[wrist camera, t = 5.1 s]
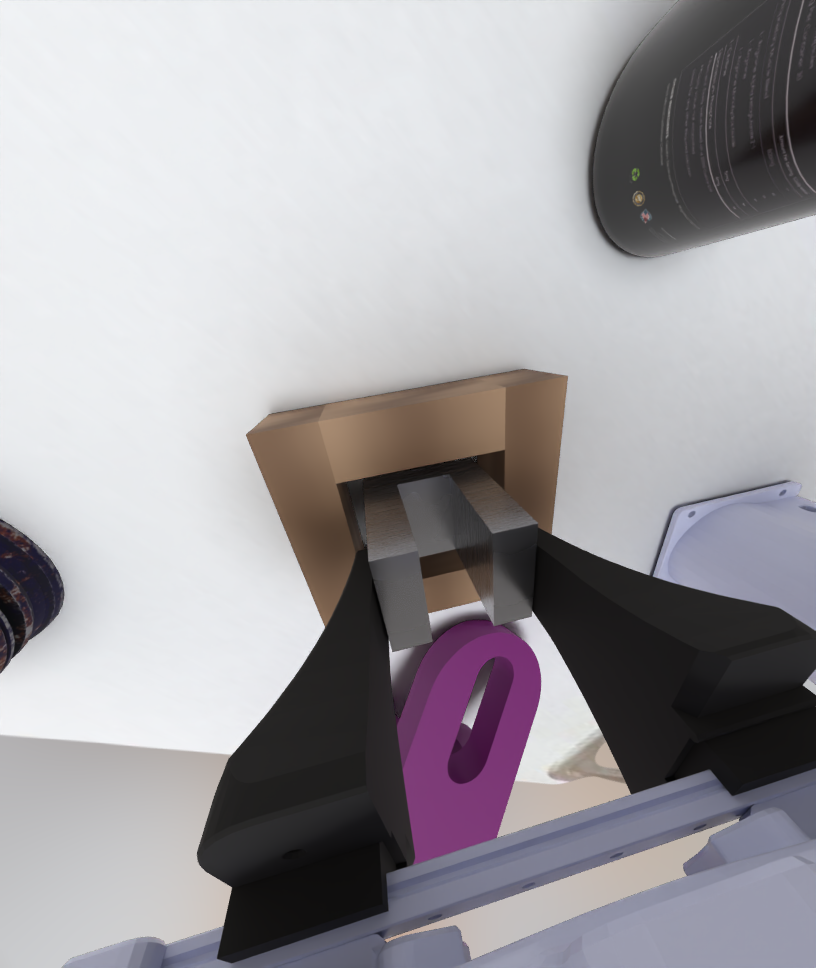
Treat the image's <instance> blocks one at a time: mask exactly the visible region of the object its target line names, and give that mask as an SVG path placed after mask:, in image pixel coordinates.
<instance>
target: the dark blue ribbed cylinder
mask: <svg viewBox="0 0 816 968" xmlns="http://www.w3.org/2000/svg"><path fill="white" fill-rule="evenodd" d="M63 599H64V590H63V583H62V580H61V578H60V575H59V572H58V571H57V569H56V568H55V566H54V564H53V563H52V561H51V560H50V559H49V558H48V557H47V555H46V554H45V553H44V552H43V551H42V550H41V549H40V548H39V547H38V546H37V545H36V544H35V543H34V542H32V541H31V540H30V539H29V538H28V537H27V536H25V535H24V534H22V533H21V532H19V531H18V530H17V529H15V528H14V527H12V526H11V525H9V524H7V523H6V522H4V521H2V520H0V673H1V672H2V671H3V670H4V669H5V668H6V666H7V665H8V664H9V663H10V660H11V659H12V658H13V657H14V656H15V655H16V654H18V653H19V652H20V651H21V649H22V648H23V647H24V646H25V645H26V644H27V642H28V640H30V639H32V638H33V637H34V636H36V635H37V634H38V633H40V632H41V631H42V630H43V629H44V628H46V627H47V626H48V625H49V624H50V623H51V622H52V621H53V620H54V618H55V617H56V616H57V615H58V613H59V611H60V609H61V607H62V605H63Z"/></svg>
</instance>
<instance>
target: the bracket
mask: <svg viewBox="0 0 816 968" xmlns="http://www.w3.org/2000/svg"><path fill="white" fill-rule="evenodd" d="M363 490H364V504H365V519H366V533H367V547H368V561H369V565H370V569H371V573H372V577H373V580H374V584H375V588H376V592H377V595H378V599H379V603H380V607H381V610H382V614H383V618H384V622H385V626H386V629H387V633H388V637H389V641H390V644H391V648H392V652H395V651H399V650H403V649H407V648H411V647H415V646H419V645H423V644H426V643H430V642H433V640H432V634H431V628H430V622H429V616H428V610H427V603H426V597H425V591H424V585H423V579H422V573H421V567H420V560H419V557H423V556H427V555H432V554H436V553H440V552H445V551H449V550H453V549H456V551H457V553H458V555H459V557H460V559H461V561H462V563H463V565H464V567H465V569H466V571H467V573H468V575H469V577H470V579H471V581H472V583H473V585H474V587H475V589H476V591H477V593H478V595H479V597H480V599H481V601H482V603H483V605H484V607H485V609H486V611H487V613H488V615H489V617H490V619H491V621H492V623H493V625H494V626H497V625H501V624H504V623H508V622H512V621H516V620H520V619H524V618H528V617H532V605H533V591H534V577H535V564H536V550H537V536H538V522H536V521H535V520H534V519H533V518H532V517H531V516H530V515H529V514H528V513H527V512H526V511H525V510H524V509H523V508H522V507H521V506H520V505H519V504H518V503H517V502H516V501H515V500H514V499H513V498H512V497H511V496H510V495H509V494H508V493H507V492H506V491H505V490H503V489H502V488H501V487H500V486H499V485H498V484H497V483H496V482H495V481H494V480H493V479H492V478H491V477H490V476H489V475H488V474H487V473H486V472H485V471H484V470H483V469H482V468H481V467H480V466H479V465H478V464H477V463H476V462H475V461H474V460H473V459H472V458H467V459H462V460H457V461H452V462H447V463H442V464H437V465H432V466H427V467H422V468H417V469H412V470H407V471H402V472H398V473H393V474H388V475H383V476H378V477H373V478H368V479H363Z"/></svg>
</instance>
